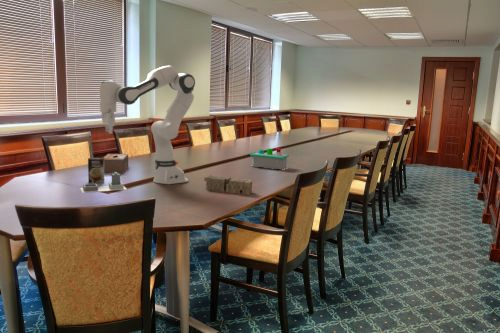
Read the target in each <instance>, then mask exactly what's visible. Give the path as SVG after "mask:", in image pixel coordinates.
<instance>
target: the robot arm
mask: <svg viewBox="0 0 500 333" xmlns="http://www.w3.org/2000/svg"><path fill="white" fill-rule="evenodd" d="M166 85H169V87H170V88H171V89H172V90H174V91H177V92H176V96H175V97H174V99H173V100H172V102H171V103H170V105H169V106H168V108H167V110H166V115H165V117H164V120H157V121H154V122H153V123H152V125H151V127H150V131H151V133H152V137H153V140H154V146H155V161H154V168H155V172H154V177H153V182H154V183H156V184H164V185H172V184H174V185H175V184H181V183H188V182H189V179H188V178H187V177H186V176H185V172H184V170H182V168H180V167H179V166H177V165H178V164H179V162H178V161H177V160H175V159H174V147H173V145H172V142H171V140H174V139H176V138H177V137H178V136H179V131H180V130H179V128H180V126H181V123H182V120H183V119H184V117H185V115H187V112H188V111H189V109H190V108H191V105H192V104H193V102H194V98H195V95H194V94H193V91H194V89H195V86H196V80H195V77H194V76H193V75H192V74H190V73H187V72H186V73H185V72H180V73H178V72H177V70H176V69H175V67H174V66H172V65H164V66H160V67H158V68H155V69H154V70H152V71H150V72H149V73H147V75H146V76H145V80H144V81H141V82H140V83H138V84H136V85H134V86H123V85H120V84H119V83H117V82H115V81H114V80H105V81H102V82H101V83H100V84H99V98H100V101H99V109H100V110H99V111H100V113H101V122H102V124H104V126H105V127H104V128H105V132H106V133H108V134H113V128H114V127H115V126H116V116H115V113H116V112H117V103H120V104H123V105H126V106H127V105H133V104H135V103H136V101H137V100H138V99H139V98H140V97H141V96H143V95H145V94H147V93H149V92H151V91H153V90H157V89H160V88H163V87H164V86H166Z"/></svg>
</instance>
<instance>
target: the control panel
mask: <svg viewBox="0 0 500 333" xmlns="http://www.w3.org/2000/svg"><path fill="white" fill-rule="evenodd" d="M275 150H276V151H275V153H273V152H274V151H273V148H267V150H266V152H264V149H259V150H258V151H256V152H253V153H250V154H249V156H251V157H252V161H251V166H253V168H259V167H264V168H263V169H268V168H273V169H272V170H276V169H284V168H287V162H288V160H287V159H288V158H289V157H290V155H289V154H282V148H281V147H276V148H275Z"/></svg>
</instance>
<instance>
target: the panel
mask: <svg viewBox="0 0 500 333" xmlns="http://www.w3.org/2000/svg"><path fill="white" fill-rule="evenodd" d="M121 190H122V191H124V190H127V187H126V186H125V185H124V183H123V182H122V181H120V184H117V185H112V181H111V182H108V185H103V186H99V185H98V183H85V184H84V183H83V184H82V187H80V191H81V193H82V194H83V193H84V194H85V193H94V192H95V193H97V192H109V191H110V192H111V191H121Z"/></svg>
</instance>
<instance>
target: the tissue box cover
mask: <svg viewBox="0 0 500 333" xmlns="http://www.w3.org/2000/svg"><path fill="white" fill-rule="evenodd" d="M103 158H104V174H114V172H117V173H119V174H124V173H125V171H126V170H127V169H128V168H129V153H107V154H106V155H104V157H103Z"/></svg>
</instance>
